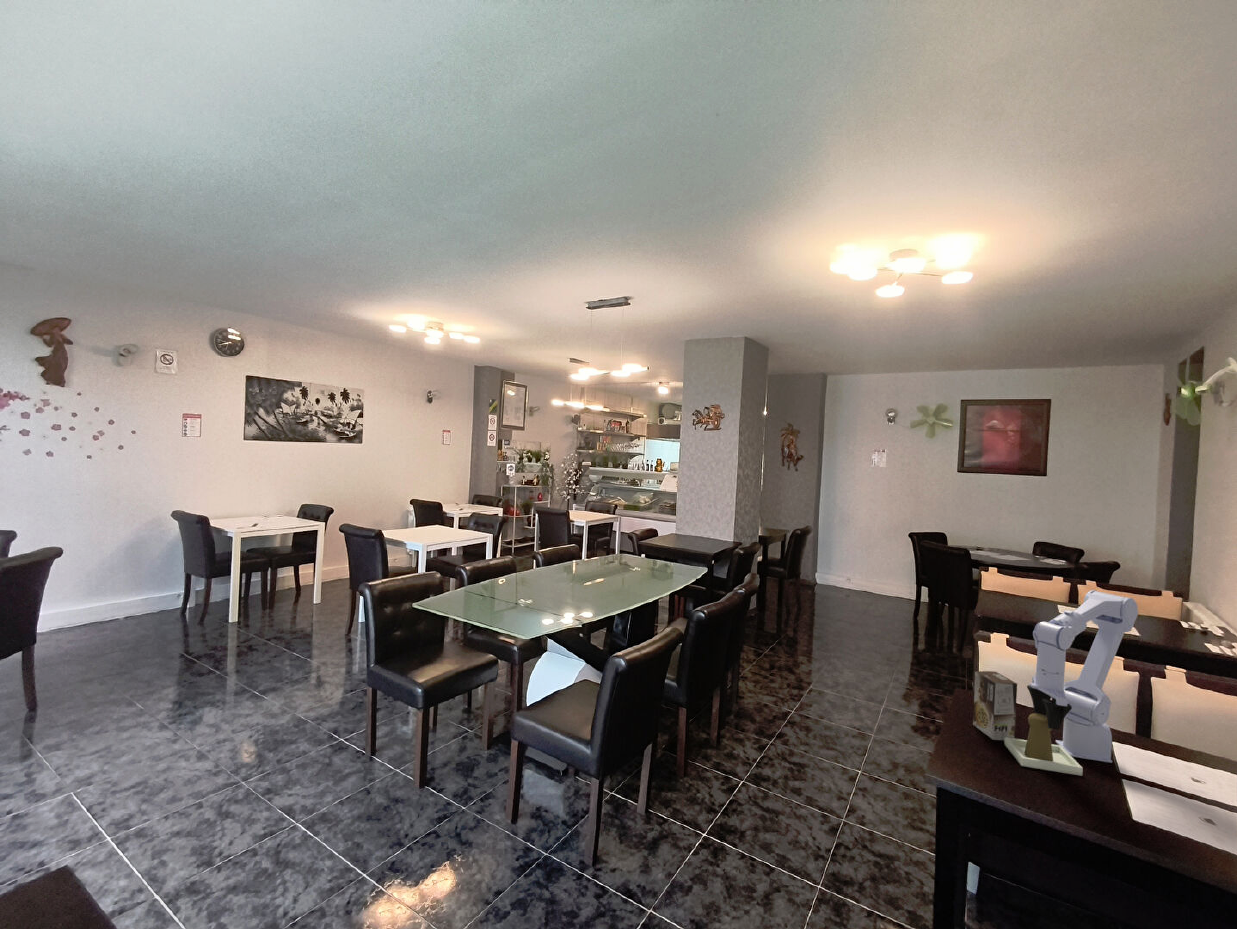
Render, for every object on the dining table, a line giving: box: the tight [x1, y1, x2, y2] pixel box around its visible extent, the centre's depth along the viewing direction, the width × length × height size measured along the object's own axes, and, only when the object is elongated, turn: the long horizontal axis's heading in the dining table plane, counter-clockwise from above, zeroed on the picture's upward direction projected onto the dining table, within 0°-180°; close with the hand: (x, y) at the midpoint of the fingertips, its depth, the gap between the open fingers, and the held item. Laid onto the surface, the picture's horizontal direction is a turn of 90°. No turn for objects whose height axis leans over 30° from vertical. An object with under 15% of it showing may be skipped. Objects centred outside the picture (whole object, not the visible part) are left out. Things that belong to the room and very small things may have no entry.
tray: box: [1003, 737, 1084, 777], centre depth 143 cm, size 13×11×2 cm
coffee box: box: [972, 670, 1018, 741], centre depth 156 cm, size 9×6×16 cm
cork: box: [1024, 712, 1053, 762], centre depth 143 cm, size 6×6×11 cm
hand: (1046, 721), depth 142 cm, fingers open, 7 cm apart
